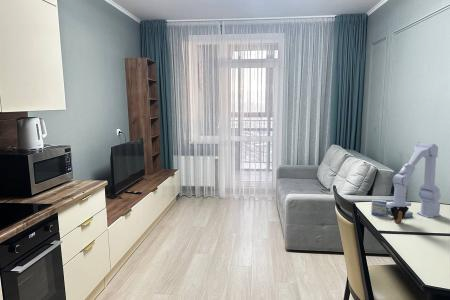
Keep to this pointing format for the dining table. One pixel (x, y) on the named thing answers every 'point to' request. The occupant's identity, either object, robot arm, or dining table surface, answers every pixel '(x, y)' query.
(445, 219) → the dining table surface
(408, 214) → the socket block
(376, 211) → the medicine box
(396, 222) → the brown rounded peg
